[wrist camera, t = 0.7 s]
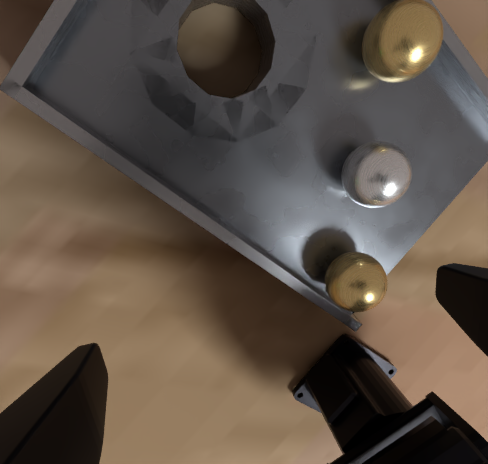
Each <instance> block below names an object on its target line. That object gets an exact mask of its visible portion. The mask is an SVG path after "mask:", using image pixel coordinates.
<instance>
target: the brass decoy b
mask: <svg viewBox="0 0 488 464" xmlns="http://www.w3.org/2000/svg"><path fill="white" fill-rule="evenodd" d="M442 41H443V23H442V20H441V17H440V15H439V13H438V11H437V10H436V9H435V8H434V7H433V6H432V5H431V4H430V3H428V2H426V1H424V0H397V1H394V2H392V3H390V4H388V5H387V6H385V7H384V8H382V9H381V10H380V11H379V12H378V13H377V14H376V15H375V16H374V17H373V19H372V20H371V22H370V23H369V25H368V27H367V29H366V31H365V34H364V37H363V41H362V57H363V61H364V63H365V65H366V67H367V69H368V70H369V72H370V73H371V74H372V75H373V76H375V77H376V78H378V79H380V80H382V81H385V82H390V83H399V82H404V81H408V80H410V79H413V78H415V77H417V76H418V75H420V74H421V73H422V72H424V71H425V70H426V69H427V68H428V67H429V66H430V65H431V64H432V62H433V61H434V60H435V58H436V56H437V55H438V53H439V50H440V48H441V45H442Z"/></svg>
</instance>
